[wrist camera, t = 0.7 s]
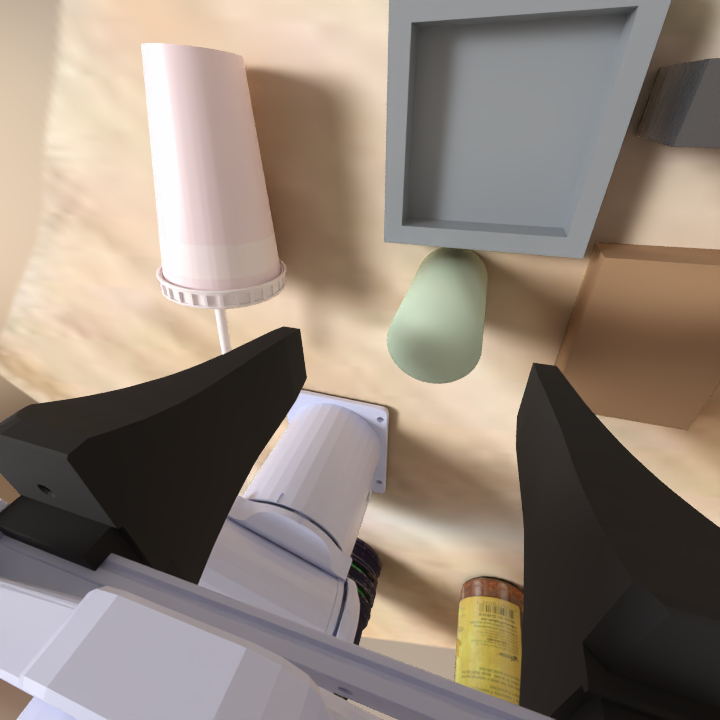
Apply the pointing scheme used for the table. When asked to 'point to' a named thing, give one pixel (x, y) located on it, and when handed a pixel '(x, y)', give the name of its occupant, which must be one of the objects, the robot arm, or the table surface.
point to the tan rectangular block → (646, 333)
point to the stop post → (684, 106)
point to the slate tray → (509, 118)
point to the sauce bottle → (490, 638)
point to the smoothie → (209, 183)
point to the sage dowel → (441, 318)
